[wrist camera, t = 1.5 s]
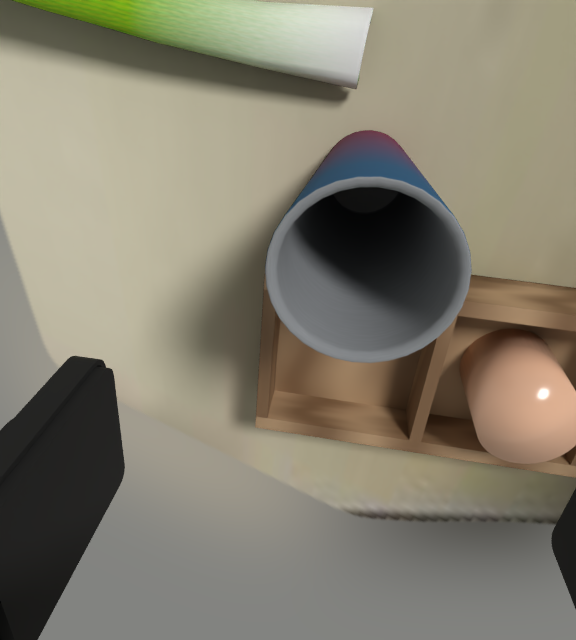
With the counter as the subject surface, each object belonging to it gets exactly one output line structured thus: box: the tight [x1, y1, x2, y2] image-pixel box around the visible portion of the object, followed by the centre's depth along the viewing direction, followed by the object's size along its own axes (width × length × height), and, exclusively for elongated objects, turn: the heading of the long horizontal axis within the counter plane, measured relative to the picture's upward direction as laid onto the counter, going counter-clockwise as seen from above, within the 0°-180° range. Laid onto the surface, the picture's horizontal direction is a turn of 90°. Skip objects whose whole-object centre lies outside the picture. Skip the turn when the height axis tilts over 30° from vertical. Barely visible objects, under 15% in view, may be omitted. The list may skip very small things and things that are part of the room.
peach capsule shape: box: [459, 329, 576, 464], centre depth 31 cm, size 6×6×6 cm
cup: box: [265, 130, 471, 363], centre depth 23 cm, size 7×7×15 cm
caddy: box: [255, 274, 576, 478], centre depth 33 cm, size 22×12×4 cm, turn 86°
